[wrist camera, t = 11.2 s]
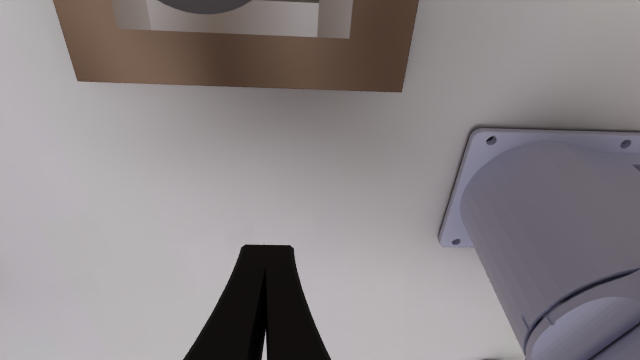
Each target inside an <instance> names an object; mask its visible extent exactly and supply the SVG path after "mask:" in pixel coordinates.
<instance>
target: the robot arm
mask: <svg viewBox="0 0 640 360" xmlns="http://www.w3.org/2000/svg"><path fill="white" fill-rule="evenodd" d="M491 136H494V137H493V139H492V140H490V141H486V140H487V139H488V138H489V137H491ZM625 140H626V141H625ZM623 141H625V142H624V143H622V142H623ZM621 143H622V144H621ZM454 239H456V240H454ZM438 240H439V243H440V245H441V246H443V247H474V248H475V250H476V252H477V254H478V256H479V258H480V261H481V263H482V265H483V267H484V269H485V271H486V273H487V276H488V278H489V280H490V282H491V284H492V286H493V288H494V291H495V293H496V295H497V297H498V299H499V301H500V303H501V306H502V308H503V310H504V312H505V314H506V316H507V318H508V321H509V323H510V325H511V327H512V329H513V331H514V333H515V336H516V338H517V340H518V342H519V344H520V346H521V348H522V351H523V353H524V355H525V360H640V133H634V132H599V131H564V130H529V129H494V128H480V129H477V130H475V131H473V132H472V133H471V135H470V137H469V140H468V144H467V147H466V150H465V153H464V157H463V160H462V163H461V166H460V169H459V173H458V176H457V179H456V182H455V186H454V189H453V192H452V195H451V198H450V202H449V205H448V208H447V211H446V215H445V218H444V221H443V224H442V228H441V231H440V234H439V237H438ZM265 332H266V343H267V360H331V359H330V356H329V354H328V352H327V350H326V348H325V346H324V344H323V341H322V339H321V337H320V335H319V332H318V330H317V328H316V325H315V323H314V320H313V318H312V315H311V312H310V310H309V307H308V304H307V301H306V299H305V296H304V293H303V290H302V287H301V283H300V279H299V276H298V272H297V268H296V263H295V257H294V248H292V247H291V246H290V245H244V246H243V247H241V250H240V254H239V257H238V259H237V262H236V265H235V267H234V270H233V272H232V274H231V276H230V279H229V281H228V283H227V285H226V287H225V289H224V291H223V293H222V295H221V297H220V299H219V301H218V303H217V305H216V307H215V308H214V310H213V312H212V314H211V316H210V317H209V319H208V321H207V322H206V324H205V326H204V327H203V329H202V331H201V332H200V334H199V336H198V337H197V339H196V341H195V342H194V344H193V345H192V347H191V349H190V350H189V352H188V353H187V355H186V356H185V358H184V359H183V360H261V359H262V352H263V345H264V338H265Z"/></svg>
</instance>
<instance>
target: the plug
mask: <svg viewBox="0 0 640 360" xmlns="http://www.w3.org/2000/svg"><path fill="white" fill-rule="evenodd" d="M158 1H159V2H161V3H163V4H165V5H167V6H170V7H172V8H174V9H177V10H181V11H184V12H188V13H194V14H219V13H224V12H228V11H232V10H234V9H237V8H239V7H242V6H244V5H245V4H247V3H249V2H250V1H252V0H158Z"/></svg>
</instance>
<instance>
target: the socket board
mask: <svg viewBox="0 0 640 360" xmlns="http://www.w3.org/2000/svg"><path fill="white" fill-rule="evenodd" d="M53 2H54V5H55V9H56V12H57V15H58V18H59V22H60V25H61V28H62V32H63V35H64V38H65V41H66V45H67V48H68V51H69V55H70V58H71V61H72V64H73V68H74V71H75V74H76V78H77V81H84V82H113V83H143V84H172V85H201V86H231V87H260V88H289V89H319V90H348V91H377V92H402V88H403V83H404V77H405V72H406V67H407V61H408V56H409V50H410V45H411V40H412V34H413V29H414V23H415V18H416V13H417V7H418V2H419V0H252V1H250V2H249V3H247V4H245V5H244V6H242V7H239V8H237V9H234V10H232V11H228V12H224V13H219V14H194V13H188V12H184V11H181V10H177V9H174V8H172V7H170V6H167V5H165V4H163V3H161V2H159V1H158V0H53Z"/></svg>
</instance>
